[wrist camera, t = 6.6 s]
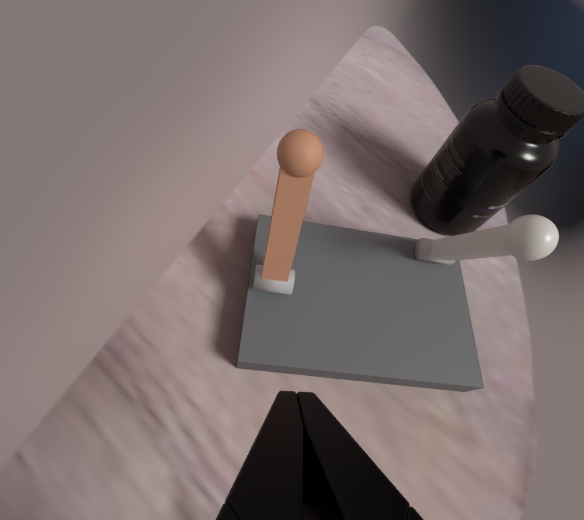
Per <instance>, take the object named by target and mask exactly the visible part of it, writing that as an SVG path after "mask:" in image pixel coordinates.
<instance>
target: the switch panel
mask: <svg viewBox="0 0 584 520" xmlns="http://www.w3.org/2000/svg"><path fill="white" fill-rule="evenodd" d="M270 222H271V216H266V215H260V214H259V216H258V223H257V229H256V236H255V243H254V250H253V257H252V264H251V271H250V278H249V285H248V292H247V299H246V306H245V313H244V320H243V327H242V334H241V341H240V348H239V355H238V362H237V368H241V369H250V370H260V371H269V372H279V373H288V374H298V375H308V376H317V377H327V378H336V379H346V380H355V381H365V382H375V383H384V384H394V385H403V386H413V387H422V388H432V389H441V390H451V391H461V392H467V391H471V390H476V389H480V388H484V385H483V380H482V375H481V370H480V365H479V359H478V354H477V349H476V344H475V339H474V334H473V328H472V323H471V318H470V313H469V308H468V303H467V297H466V292H465V287H464V282H463V277H462V271H461V266H460V261H459V260H456V261H455V262H454V263H453V264H451V265H449V264H442V263H436V262H429V261H422V260H418V259H417V258H416V256H415V248H416V244H417V242H418V241H419V240H417V239H411V238H405V237H398V236H392V235H386V234H379V233H373V232H367V231H360V230H354V229H348V228H342V227H335V226H329V225H323V224H316V223H310V222H304V221H303V222H302V226H301V230H300V234H299V238H298V242H297V246H296V250H295V254H294V258H293V262H292V266H291V269H293V270H295V280H294V287H293V291H292V294H291V295H288V294H281V293H273V292H266V291H258V290H253V284H254V277H255V270H256V264H257V265H263V262H264V256H265V250H266V244H267V239H268V233H269V227H270Z"/></svg>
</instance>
